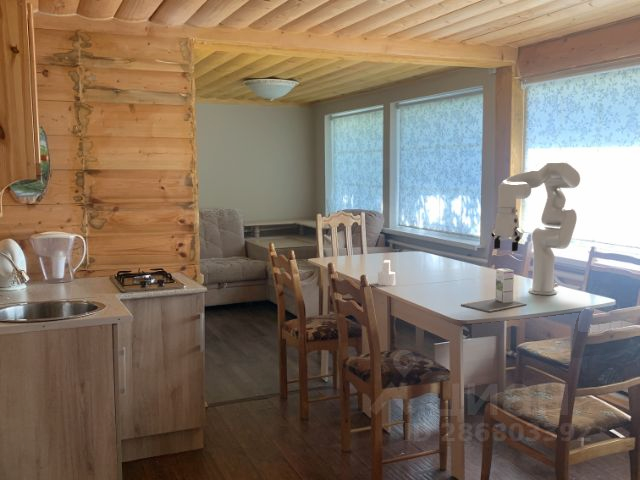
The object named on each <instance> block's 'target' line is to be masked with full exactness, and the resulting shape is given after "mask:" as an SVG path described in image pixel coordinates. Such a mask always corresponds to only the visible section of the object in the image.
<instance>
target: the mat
mask: <svg viewBox="0 0 640 480" xmlns="http://www.w3.org/2000/svg"><path fill="white" fill-rule="evenodd" d="M460 306H461V307H465V308H469V309H474V310H477V311H481V312H487V313H494V312H499V311H500V312H501V311H503V310H510V309H515V308H519V307H524V306H527V303H524V302H519V301H514V300H513V302H509V303H502V302H499V301H496V297H492V298H488V299H482V300H477V301H469V302H466V303H465V302H464V303H460Z"/></svg>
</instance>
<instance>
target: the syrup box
mask: <svg viewBox="0 0 640 480" xmlns="http://www.w3.org/2000/svg"><path fill="white" fill-rule="evenodd" d="M514 274H515V270H514V269H510V268H504V267H503V268H497V269H495V298H496V301H499V302H502V303H509V302H513V301H514V281H515V280H514Z"/></svg>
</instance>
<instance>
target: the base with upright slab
mask: <svg viewBox="0 0 640 480" xmlns="http://www.w3.org/2000/svg"><path fill="white" fill-rule="evenodd" d="M377 284H379V286H382V285H385V286H384V287H390V285H393V286H396V272H394V271H391V259H384V260H383V262H382V271H378V272H377Z"/></svg>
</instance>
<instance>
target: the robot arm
mask: <svg viewBox="0 0 640 480" xmlns="http://www.w3.org/2000/svg"><path fill="white" fill-rule="evenodd" d="M580 183H581V174H580V173H579V171H577V169H576V168H574V167H573V166H572V165H570V164H569V163H567V161H564V160H544V161H542V162H539V163H538V164H537V165H535V166H534V167H532V168H531V169H529V170H528V171H527V170H526V171H523V172H520V173H517V174H514V175H510V176H509V177H507V178H506V179H504V180H503V181H502V182H501V183H499V185H498V188H497V192H498V197H497V198H498V199H497V200H498V201H497V213H496V217H495V225H494V226H493V227H492V228H490V229H489V232H490V233H491V236H492V238H493V240H494V243H493V244H494V245H493V247H494V250H495V249H501V239H500V238H501V237H503V238H511V240H512V242H511V252H517V251H518V250H519V249H518V248H519V242H520V241H521V240H522V237H523V235H524V232H523V231H522V230H520V224H519V223H520V221H519V216H518V214H516V213H518V208H517V200H525V199H527V198H529V196H530V195H531V193H532V189H535V188H539V187H540V186H542V185H543V184H544V187H545V190H546V195H547V196H546V198H547V199H546V202H545V205H544V207H543V210H542V211H543V212H542V214H541V223H542V224H543V225H544V226H542V227H541V226H540V227H537V228H535V229H534V230H532V231H533V232H532V233H531V241H532V247H533V249H532V250H533V257H532V259H533V261H532V287H531V288H529V289H528V293H531V294H534V295H538V296H539V295H540V296H551V295H556V294H557V290H555V288H558V287H559V283H557V282H555V281H554V278H555V277H554V275H555V254H554V252H553V249H560V250H564V249H567V248H568V247H569V245H570V243H571V240H572V238H573V235H574V234H573V233H574V231H575V228H576V223H577V212H576V210H575V209H573V208H571V207H565V205H566V201H567V199H566V196H565V194H564V192H563V191H562V189H576V188H577V187H578V186H579V185H580Z"/></svg>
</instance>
